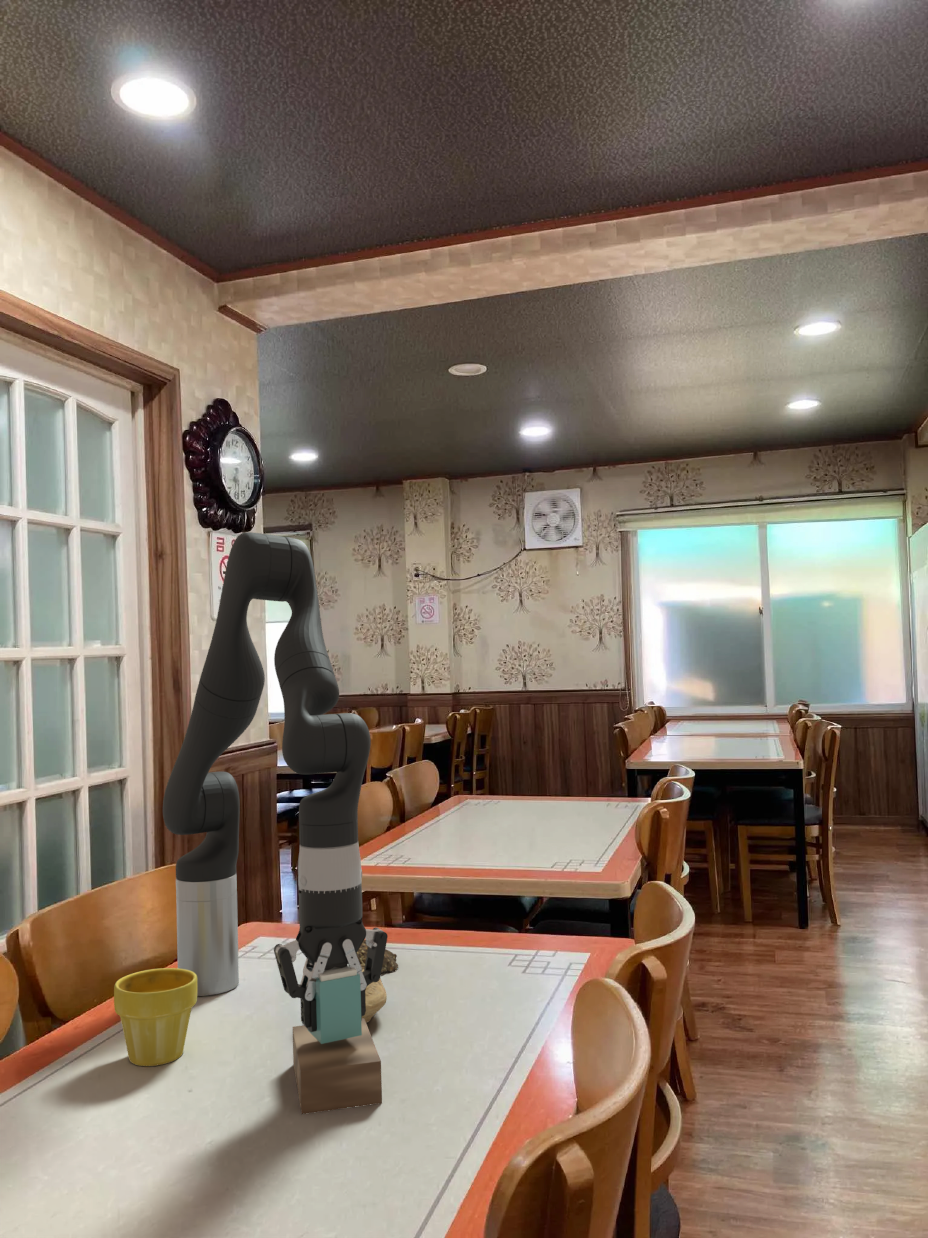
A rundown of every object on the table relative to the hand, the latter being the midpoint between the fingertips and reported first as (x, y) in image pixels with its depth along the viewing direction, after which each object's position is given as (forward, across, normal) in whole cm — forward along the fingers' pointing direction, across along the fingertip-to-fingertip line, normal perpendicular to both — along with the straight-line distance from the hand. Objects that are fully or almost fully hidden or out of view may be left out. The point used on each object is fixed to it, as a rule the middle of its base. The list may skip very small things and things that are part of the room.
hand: (333, 1024), depth 117 cm
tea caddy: (+1, 0, 0) cm, 1 cm away
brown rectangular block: (+7, 0, 0) cm, 7 cm away
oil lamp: (+7, -9, -19) cm, 22 cm away
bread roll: (+7, -19, -40) cm, 45 cm away
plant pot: (+7, +17, -20) cm, 27 cm away
